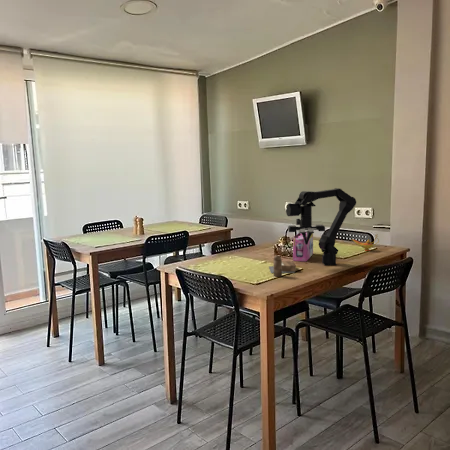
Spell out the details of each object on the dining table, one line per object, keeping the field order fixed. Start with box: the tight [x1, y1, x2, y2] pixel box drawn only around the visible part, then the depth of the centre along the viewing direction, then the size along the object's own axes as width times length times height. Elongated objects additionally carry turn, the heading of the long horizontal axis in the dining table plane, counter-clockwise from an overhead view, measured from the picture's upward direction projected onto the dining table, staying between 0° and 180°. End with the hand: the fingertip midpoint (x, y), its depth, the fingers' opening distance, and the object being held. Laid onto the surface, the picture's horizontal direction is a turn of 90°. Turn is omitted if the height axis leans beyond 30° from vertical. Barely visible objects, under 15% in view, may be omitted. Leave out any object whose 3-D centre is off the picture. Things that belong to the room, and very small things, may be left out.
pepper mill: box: [273, 255, 283, 278], centre depth 222 cm, size 4×4×10 cm
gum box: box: [292, 231, 314, 262], centre depth 262 cm, size 24×8×14 cm, turn 160°
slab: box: [282, 260, 297, 272], centre depth 234 cm, size 3×10×7 cm
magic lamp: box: [350, 234, 380, 251], centre depth 275 cm, size 7×18×11 cm, turn 52°
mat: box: [268, 265, 296, 274], centre depth 234 cm, size 12×14×1 cm
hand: (306, 244), depth 238 cm, fingers closed
